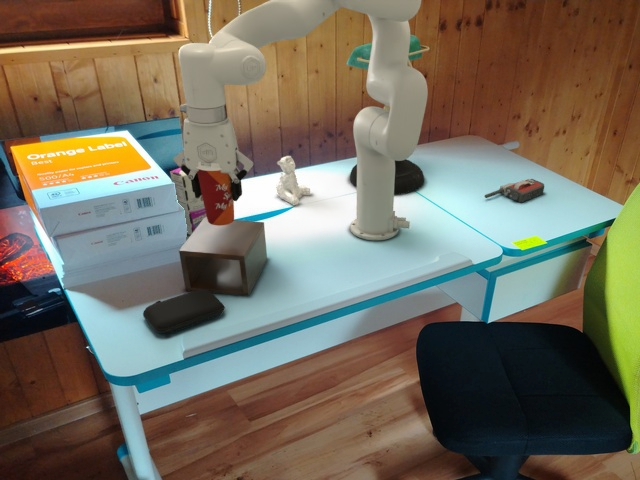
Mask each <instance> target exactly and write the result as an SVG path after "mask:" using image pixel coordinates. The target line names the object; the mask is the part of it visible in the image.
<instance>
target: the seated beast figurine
mask: <svg viewBox="0 0 640 480" xmlns="http://www.w3.org/2000/svg"><path fill="white" fill-rule="evenodd" d="M276 164H277V165H278V166H279V168H280V169H281V171H282V172H281V174H280V175H279V181H278V183H277V184H276V186H275V189H276V193H277V195H278V197H279V198H280V199H282V200H283V201H285V202H287V203H288V204H290V205H292V206H297V205H299V203H300V200H299V199H300V198H302V197H303V196H307V197H308V196H311V188H310V187H306V185H299V183H298V178H297V175H296V172H295V171H296V163H295V160H294V158H292V156H291V155H286V156H283V157H281V158H280V160H277V161H276Z"/></svg>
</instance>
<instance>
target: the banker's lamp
mask: <svg viewBox="0 0 640 480" xmlns="http://www.w3.org/2000/svg"><path fill="white" fill-rule="evenodd" d="M371 48H372V42H369V43H366V44H362V45H359V46H357V47H355V48H354V49H353V50H352V52H351V54H350V55H349V57H348V59H347V62H346V66H349V67H354V68H357V69H363V70H367V71H368V68H369V61H370V55H371ZM429 51H430V47H429V46H427V45H423V44H421V42H420V38H418V36H416V35H414V34H410V47H409V55H408V64H407V66H409V67H412V68H414V67H413V65H412V61H416V60H418V59H422V58H423V53H426V52H429ZM383 109H385V110H387V111H390V107H389V106H387V105H384V106H383ZM349 181H350V183H351V185H353V186H354V187H356V188H357V163H356V164H355V165H354V166H353V167H352V169H351V170H350V173H349ZM424 184H425V175H424V171H423V170H422V168H421V167H420V166H418V165H417V163H414V162H412V161H411V160H409V159H408V158H407V159H405V160H402V161H396V160H395V182H394V196H397V195H405V194H409V193H412V192H415V191H417V190H420V188H422V187H423V186H424Z"/></svg>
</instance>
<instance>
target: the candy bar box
mask: <svg viewBox="0 0 640 480" xmlns="http://www.w3.org/2000/svg"><path fill="white" fill-rule="evenodd" d="M169 175H170V180H171V182H172V181H173V182H174V183H175V186H176V195H177V200H178V203H179V204H180V205H181V206H182V207H183V208H184V210H185V218H186V224H187V231H188V232H187V234H186V235H188V236H191V234H192V233H193V232H194V230H195V229H196V228H197V227H198V225H199V224H200V223H201V221H202V220H203V219H204V218H207V216H206V211H205V207H204V202H203V197H202V195H201V196H200V197H199V198H195V192H193V190H192V184H191V180H190V179H189V178H188V176H187V175H186V174H185V173H184V172H183V171H182V170H181V168H180V167H178V168H176V169H173V170H171V171H169Z"/></svg>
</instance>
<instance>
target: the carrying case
mask: <svg viewBox="0 0 640 480" xmlns="http://www.w3.org/2000/svg"><path fill="white" fill-rule="evenodd" d="M225 307H226V306H225V305H224V304H223V302H221V301H220V299H218V297H217V296H216V295H214V293H211V292H210V291H208V290H206V289H199V290H196V291H188V292H186V293H183V294H179V295H177V296H174V297H171V298H167V299H165V300H162V301H161V300H158V301H155V302H154V303H152V304H150V305H148V306H147V307H145V309H144V310H143V312H142V316H143V318H144V319H145V321H146V322H147V323H148V324H149V326H150V327H151V328H152V329H153V330H154V332H155V333H157V334H160V335H162V336H163V335H170V334H172V333H176V332H178V331H181V330H185V329H187V328H190V327H193V326H195V325H198V324H201V323H204V322H207V321H210V320H212V319H215V318H217V317H219V316H221V315H222V314H223V312H225V309H226V308H225Z"/></svg>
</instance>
